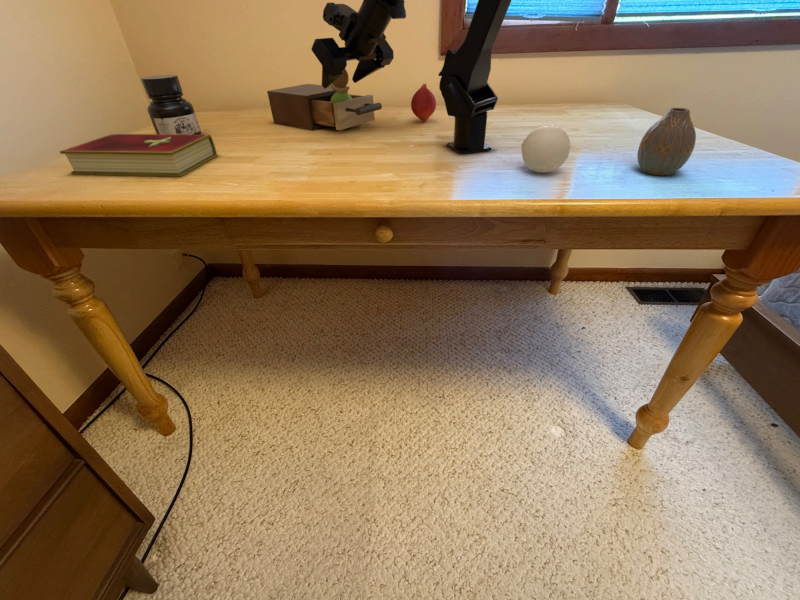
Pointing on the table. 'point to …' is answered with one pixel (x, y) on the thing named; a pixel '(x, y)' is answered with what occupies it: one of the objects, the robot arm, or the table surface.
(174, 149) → the hardcover book
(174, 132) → the ink bottle
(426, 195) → the table surface
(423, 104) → the onion
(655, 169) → the vase
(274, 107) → the cabinet
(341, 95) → the snail figurine
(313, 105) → the drawer
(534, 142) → the beige round ball
